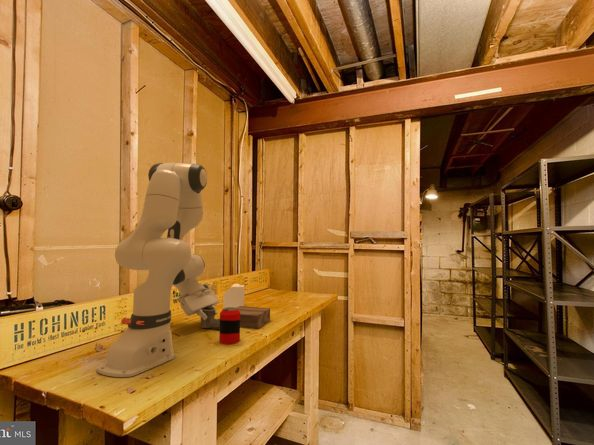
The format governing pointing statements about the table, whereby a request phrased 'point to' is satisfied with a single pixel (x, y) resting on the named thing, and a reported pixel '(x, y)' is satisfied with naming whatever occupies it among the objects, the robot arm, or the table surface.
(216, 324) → the pipe
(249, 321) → the walnut block
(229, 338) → the soda can
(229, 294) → the corner bracket
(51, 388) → the table surface
